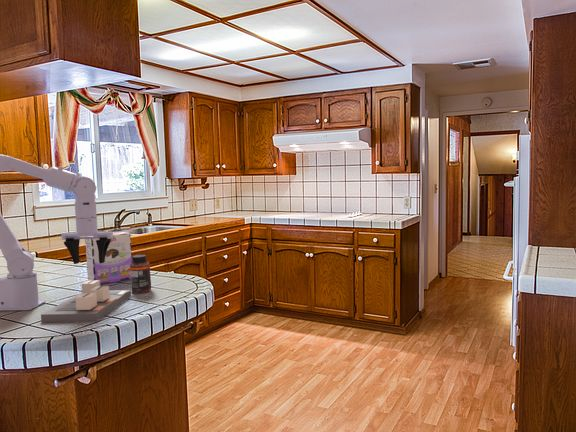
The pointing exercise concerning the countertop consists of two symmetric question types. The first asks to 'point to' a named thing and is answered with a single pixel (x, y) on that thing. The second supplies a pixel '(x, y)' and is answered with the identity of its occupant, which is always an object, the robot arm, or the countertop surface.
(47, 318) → the panel
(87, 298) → the slotted white cube
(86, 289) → the knob
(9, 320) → the countertop surface
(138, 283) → the supplement bottle
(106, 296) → the knob
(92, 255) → the candy box
